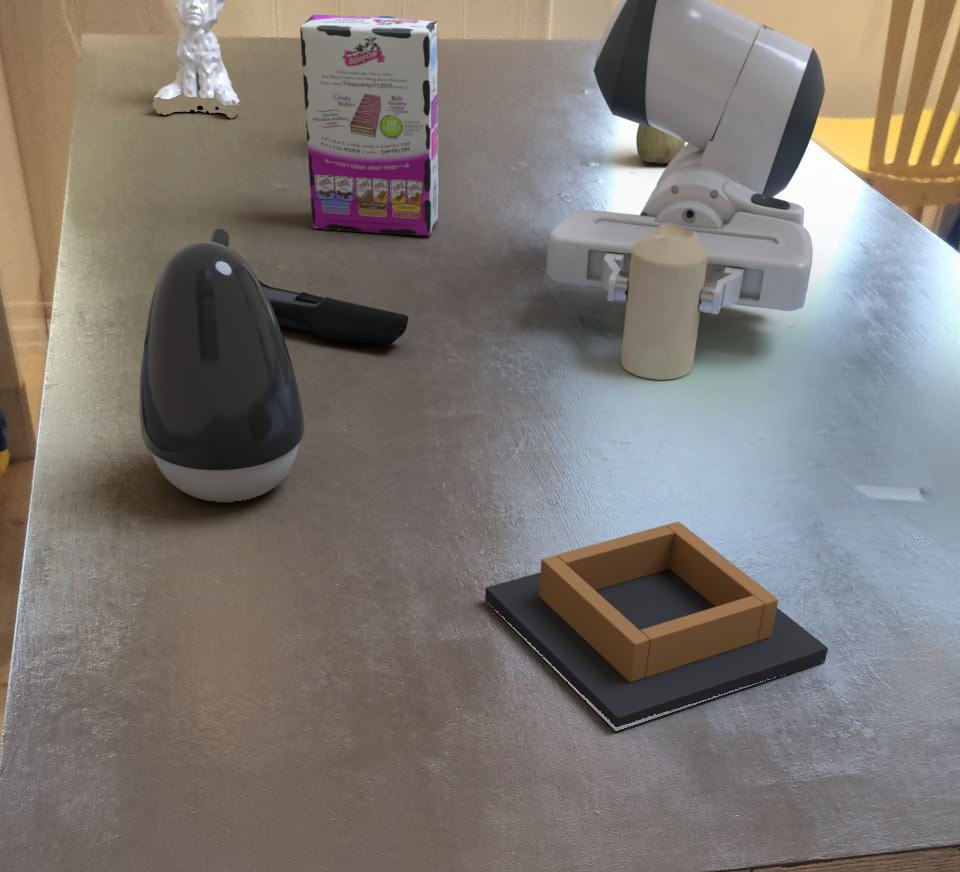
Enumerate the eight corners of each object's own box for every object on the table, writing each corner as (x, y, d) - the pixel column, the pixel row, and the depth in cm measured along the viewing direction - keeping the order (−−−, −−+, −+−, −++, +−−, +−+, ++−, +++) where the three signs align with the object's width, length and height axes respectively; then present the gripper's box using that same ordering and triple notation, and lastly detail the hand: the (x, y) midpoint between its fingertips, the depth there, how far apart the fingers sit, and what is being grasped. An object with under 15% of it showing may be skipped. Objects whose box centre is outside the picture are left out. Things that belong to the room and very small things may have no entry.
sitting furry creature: (151, 116, 149) (135, -12, 141) (167, 94, 155) (153, -29, 147) (238, 120, 149) (227, -8, 141) (251, 98, 155) (241, -26, 147)
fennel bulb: (643, 171, 140) (657, 37, 132) (622, 156, 143) (634, 25, 135) (693, 165, 141) (710, 33, 133) (671, 151, 145) (686, 21, 136)
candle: (619, 349, 107) (632, 215, 100) (689, 352, 107) (707, 218, 100) (622, 379, 103) (635, 241, 96) (695, 382, 103) (714, 244, 96)
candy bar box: (439, 220, 127) (440, 18, 116) (430, 238, 124) (431, 32, 113) (322, 211, 128) (311, 10, 117) (309, 229, 125) (298, 23, 114)
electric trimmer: (394, 364, 104) (394, 323, 102) (220, 323, 109) (216, 283, 106) (416, 346, 107) (416, 305, 105) (244, 307, 111) (241, 267, 109)
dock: (680, 546, 85) (687, 495, 83) (825, 662, 76) (838, 609, 74) (484, 601, 80) (486, 549, 78) (615, 733, 71) (622, 678, 69)
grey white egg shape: (317, 449, 93) (303, 216, 83) (296, 525, 86) (278, 279, 75) (168, 443, 94) (135, 209, 83) (134, 519, 86) (94, 272, 76)
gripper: (568, 179, 110) (528, 236, 100) (824, 207, 107) (809, 269, 97) (563, 259, 114) (524, 322, 104) (809, 289, 111) (793, 357, 101)
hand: (663, 297), depth 101 cm, fingers closed on candle, 5 cm apart
